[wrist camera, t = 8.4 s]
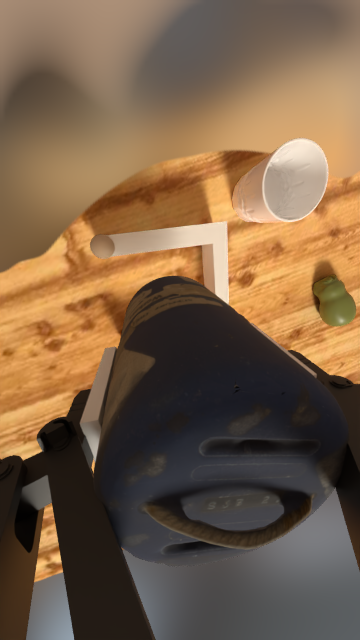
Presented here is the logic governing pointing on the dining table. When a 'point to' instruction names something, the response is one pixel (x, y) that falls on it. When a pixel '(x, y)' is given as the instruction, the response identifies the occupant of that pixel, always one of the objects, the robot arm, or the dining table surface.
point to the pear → (334, 301)
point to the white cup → (283, 184)
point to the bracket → (176, 237)
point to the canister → (210, 432)
